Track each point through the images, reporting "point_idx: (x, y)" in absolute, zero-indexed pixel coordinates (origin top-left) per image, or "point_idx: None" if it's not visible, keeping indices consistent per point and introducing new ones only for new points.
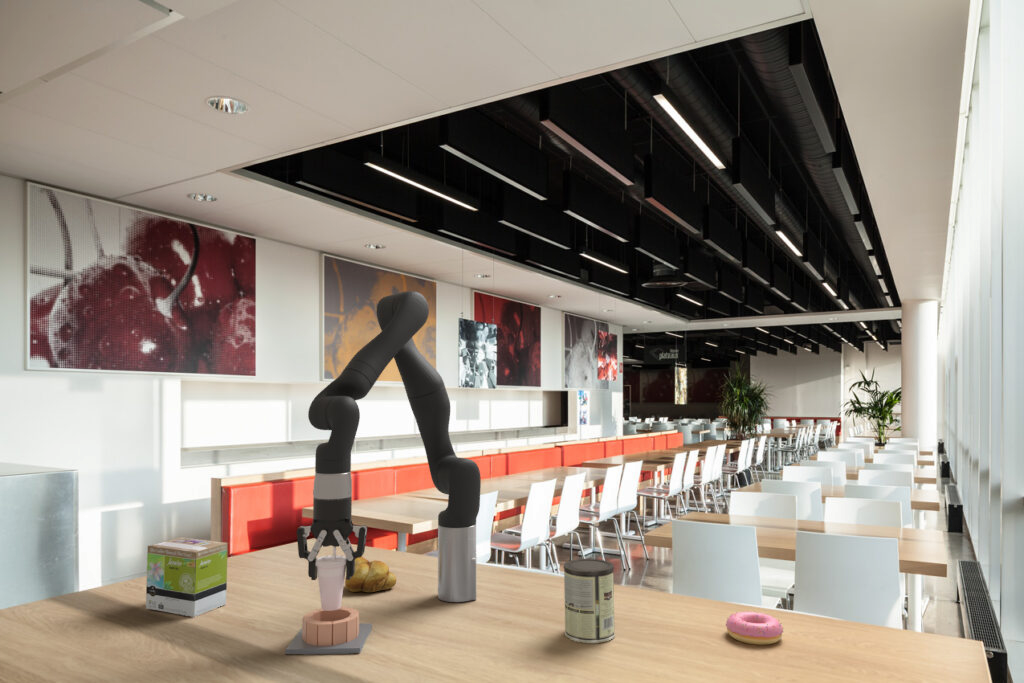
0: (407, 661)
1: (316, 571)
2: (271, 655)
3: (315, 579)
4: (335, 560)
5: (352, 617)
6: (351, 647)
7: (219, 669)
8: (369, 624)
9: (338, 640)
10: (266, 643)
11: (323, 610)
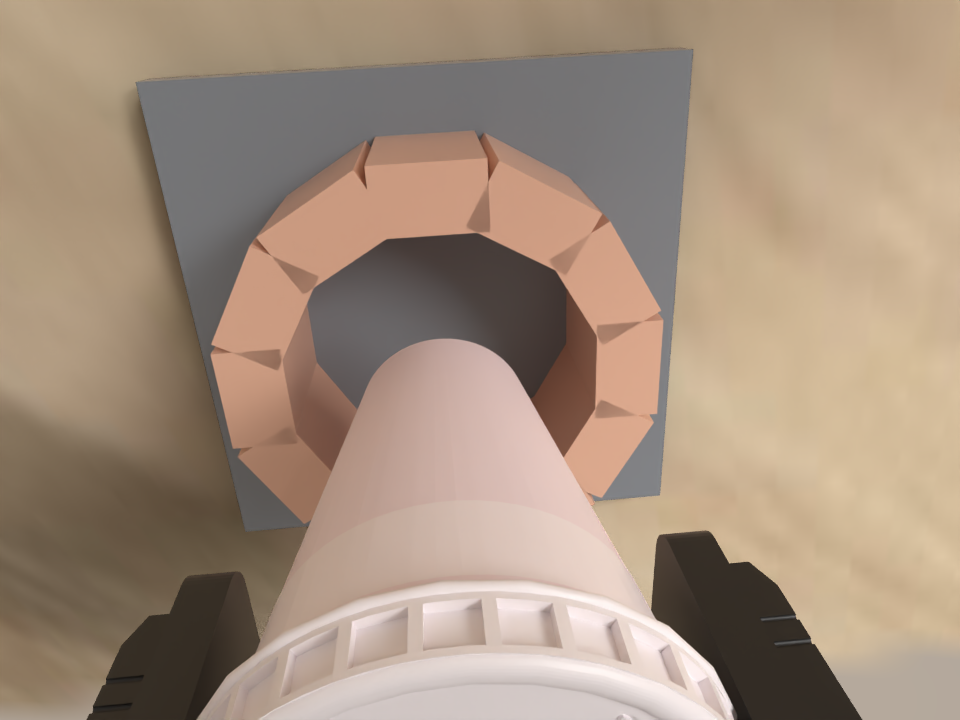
0: (885, 546)
1: (225, 677)
2: (176, 519)
3: (256, 635)
4: None
5: (625, 428)
6: (611, 490)
7: (17, 668)
8: (676, 81)
9: None
10: (30, 360)
11: (333, 269)
